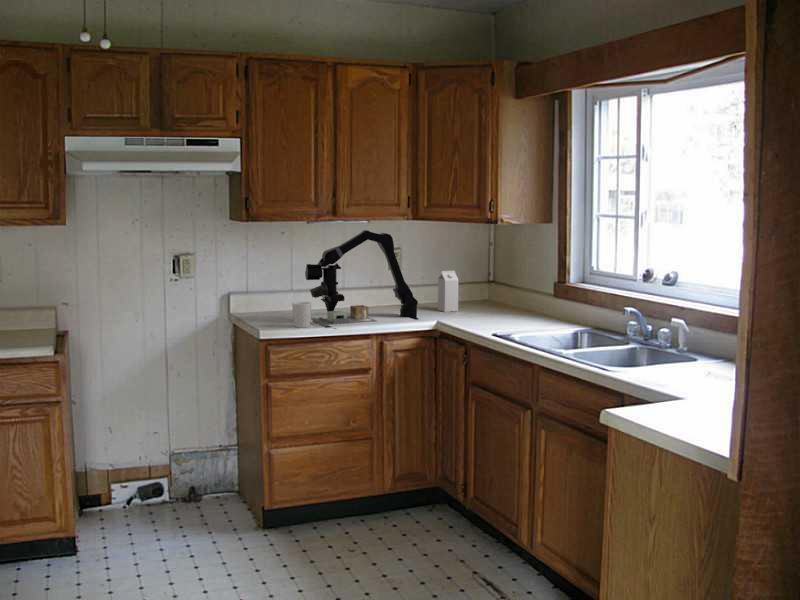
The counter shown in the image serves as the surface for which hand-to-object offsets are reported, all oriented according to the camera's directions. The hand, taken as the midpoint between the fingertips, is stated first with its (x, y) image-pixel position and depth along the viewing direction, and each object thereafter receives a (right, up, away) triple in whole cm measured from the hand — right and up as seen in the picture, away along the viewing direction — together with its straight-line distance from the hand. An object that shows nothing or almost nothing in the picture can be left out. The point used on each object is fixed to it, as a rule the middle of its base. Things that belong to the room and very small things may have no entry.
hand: (329, 315), depth 384 cm
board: (+7, -3, -2) cm, 8 cm away
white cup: (-11, -5, -11) cm, 16 cm away
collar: (+12, -1, +6) cm, 14 cm away
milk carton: (+53, +1, +36) cm, 64 cm away
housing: (+4, -2, -7) cm, 8 cm away
